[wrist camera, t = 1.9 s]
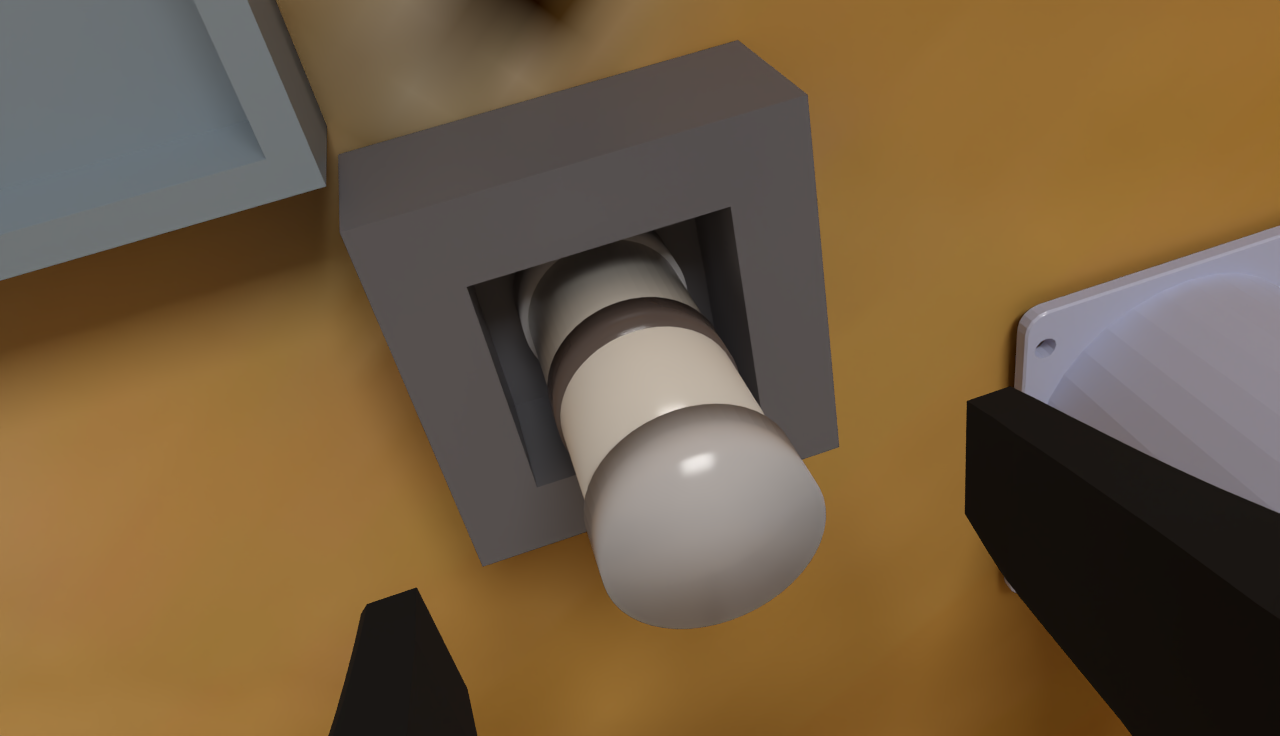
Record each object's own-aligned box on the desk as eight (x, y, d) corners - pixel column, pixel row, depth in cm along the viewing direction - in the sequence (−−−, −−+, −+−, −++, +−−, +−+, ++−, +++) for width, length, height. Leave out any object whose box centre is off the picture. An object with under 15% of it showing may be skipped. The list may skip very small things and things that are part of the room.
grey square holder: (779, 362, 21) (839, 447, 18) (464, 464, 20) (482, 566, 18) (737, 40, 16) (807, 94, 14) (338, 154, 16) (339, 232, 13)
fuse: (683, 326, 19) (833, 584, 13) (536, 372, 19) (626, 656, 13) (656, 189, 17) (816, 420, 11) (493, 237, 17) (576, 499, 11)
